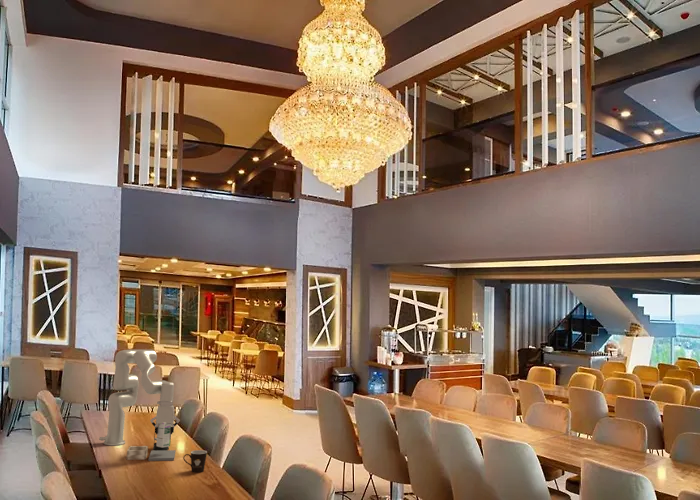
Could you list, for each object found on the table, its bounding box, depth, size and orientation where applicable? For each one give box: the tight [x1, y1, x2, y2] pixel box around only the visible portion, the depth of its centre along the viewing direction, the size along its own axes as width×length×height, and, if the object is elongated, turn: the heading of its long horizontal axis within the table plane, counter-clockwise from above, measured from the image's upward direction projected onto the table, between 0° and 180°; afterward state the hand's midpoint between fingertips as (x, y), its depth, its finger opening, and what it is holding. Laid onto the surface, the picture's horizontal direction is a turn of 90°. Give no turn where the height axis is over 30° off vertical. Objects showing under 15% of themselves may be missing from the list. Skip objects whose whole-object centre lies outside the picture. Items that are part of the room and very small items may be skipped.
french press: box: [152, 433, 170, 451], centre depth 358 cm, size 12×9×23 cm
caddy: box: [126, 445, 149, 461], centre depth 336 cm, size 10×10×5 cm
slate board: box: [148, 449, 176, 462], centre depth 339 cm, size 14×18×2 cm
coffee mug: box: [183, 449, 208, 474], centre depth 314 cm, size 12×9×10 cm
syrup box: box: [156, 422, 172, 448], centre depth 340 cm, size 6×6×14 cm
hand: (164, 433), depth 340 cm, fingers closed on syrup box, 8 cm apart
